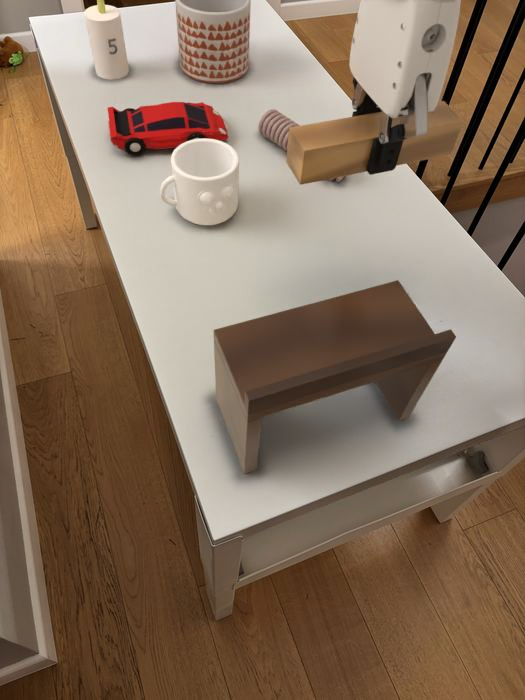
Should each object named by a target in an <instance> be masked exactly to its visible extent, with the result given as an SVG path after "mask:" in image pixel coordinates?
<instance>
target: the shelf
mask: <svg viewBox="0 0 525 700" xmlns="http://www.w3.org/2000/svg"><path fill="white" fill-rule="evenodd" d="M456 338H457V335H456V334H455V332H454V331H453V330H452V329H451V328H450V329H447V330H444V331H440V332H437V333H435V332H434V330H433V329H432V327H431V325H430V324H429V322H428V321H427V320H426V319H425V317H424V315H423V314H422V312H421V311H420V309H419V308H418V306H417V305H416V304H415V303H414V300H413V299H412V298H411V296H410V294H409V293H408V292H407V290H406V289H405V288H404V286H403V284H402V283H401V282H400V281H399V279H397V280H394V281H390V282H386V283H383V284H379V285H375V286H371V287H367V288H364V289H359V290H357V291H353V292H349V293H346V294H342V295H338V296H333V297H330V298H327V299H323V300H320V301H316V302H312V303H308V304H304V305H301V306H297V307H294V308H290V309H286V310H283V311H278V312H274V313H271V314H267V315H264V316H259V317H256V318H252V319H248V320H245V321H241V322H238V323H233V324H230V325H226V326H223V327H219V328H216V329H213V354H214V355H213V356H214V378H215V380H214V381H215V401H216V404H217V406H218V408H219V411H220V414H221V416H222V420H223V421H224V424H225V427H226V430H227V432H228V435H229V437H230V440H231V442H232V446H233V448H234V452H235V453H236V456H237V459H238V462H239V464H240V467H241V470H242V472H243V474H244V475H246V474H248V473H251V472H254V471H257V468H258V460H259V453H260V452H259V450H260V442H261V433H262V425H263V418H264V417H268V416H271V415H274V414H277V413H281V412H283V411H284V412H285V411H287V410H290V409H293V408H296V407H299V406H303V405H305V404H309V403H312V402H316V401H318V400H322V399H324V398H327V397H331V396H333V395H337V394H340V393H343V392H347V391H350V390H353V389H356V388H358V387H361V386H362V387H363V386H365V385H369V384H371V383H375V384H376V386H377V387H378V389H379V391H380V393H381V395H382V397H383V398H384V399H385V402H386V403H387V405H388V407H389V408H390V410H391V412H392V413H393V415H394V417H395V419H396V420H397V422H400V421H402V420H403V421H404V420H406V419H409V418H410V416H411V415H412V413H413V411H414V410H415V408H416V406H417V404H418V403H419V401H420V399H421V398H422V396H423V394H424V392H425V391H426V389H427V387H428V386H429V384H430V382H431V380H432V379H433V377H434V376H435V374H436V372H437V370H438V369H439V367H440V366H441V364H442V362H443V361H444V359H445V357H446V355H447V354H448V352H449V350H450V349H451V347H452V345H453V343H454V342H455V340H456Z"/></svg>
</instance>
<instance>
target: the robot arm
mask: <svg viewBox="0 0 525 700" xmlns="http://www.w3.org/2000/svg"><path fill="white" fill-rule="evenodd" d="M461 2H462V0H360V2H359V8H358V12H357V16H356V21H355V24H354V28H353V29H354V30H353V33H352V34H353V35H352V40H351V44H350V51H349V54H350V55H349V63H348V64H349V70H350V72H351V75H352V85H353V91H354V92H353V97H352V99H351V107H352V109H353V110H354V111H352V115H351V117H354V116H360V115H366V114H371V113H377V112H382V115H381V122H380V130H379V137H377V138H374V141H373V144H372V149H371V153H370V157H369V161H368V165H367V174H368V175H370V176H371V175H376V174H382V173H387V172H392V171H394V170H395V169H396V167H397V166H398V165H397V161H398V158H399V154H400V151H401V147H402V144H403V141H404V140H407V139H408V138H410V137H418V136H423V135H426V134H427V132H428V119H427V112H428V113H430V112H433V111H434V110H435V108H436V106H437V104H438V102H440V98H441V94H442V91H443V88H444V84H445V81H446V77H447V74H448V70H449V65H450V62H451V59H452V54H453V49H454V46H455V42H456V36H457V31H458V25H459V19H460V12H461V4H462V3H461ZM400 116H401V119H400V124H399V125H396V126H394V127H392V128H391V125H392V118H394V119H395V118H397V117H400ZM396 165H397V166H396Z"/></svg>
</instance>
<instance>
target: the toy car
mask: <svg viewBox="0 0 525 700" xmlns="http://www.w3.org/2000/svg"><path fill="white" fill-rule="evenodd" d="M107 115H108V121H107V122H108V132H109V138H110V139H109V140H110V142H111V143H112V145H114V146H116V147H117V149H118V150H119V149H120V150H123V151H125V153H127V154H128V155H130V156H132V157H138V156H141V155H142V154H144V153H145V152H146V149H155V150H163V149H164V150H165V149H176V148H177V147H178V146H179V145H181V144H183V143H185V142H187V141H190V140H194V139H202V138H207V139H215V140H219V141H222V142H223V141H225V140H228V139H229V134H228V126H227V124H226V121H225V119H224V118H223V117H222V115H221V114H220V113H219V112H218V111H217V110H215V109H214V108H213V106H212V105H209V104H207V103H205V102H202V101H201V102H197V103H196V102H185V101H171V102H162V103H159V104H152V105H140V106H139V107H137V108H136V109H135V108H132V107H128V108H125V109H123V110H118V109H117V108H116V107H114V106H107Z"/></svg>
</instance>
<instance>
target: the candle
mask: <svg viewBox="0 0 525 700" xmlns="http://www.w3.org/2000/svg"><path fill="white" fill-rule="evenodd" d="M83 15H84V22H85V25H86V30H87V36H88V40H89V45H90V51H91V56H92V60H93V65H94V70H95V74H96V75H97V76H98V77H99V78H101V79H103V80H110V81H111V80H112V81H114V80H120V79H123V78H125V77H126V76H127V75H128V74H129V72H130V69H129V62H128V61H129V60H128V56H127V50H126V49H127V48H126V43H125V42H126V41H125V37H124V36H125V35H124V28H123V22H122V17H121V11H120V9H119V8H118V7H115V6H114V5H109V4H105V0H96V4H95V5H91V6H89V7H88V8H85V10H84V12H83Z"/></svg>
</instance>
